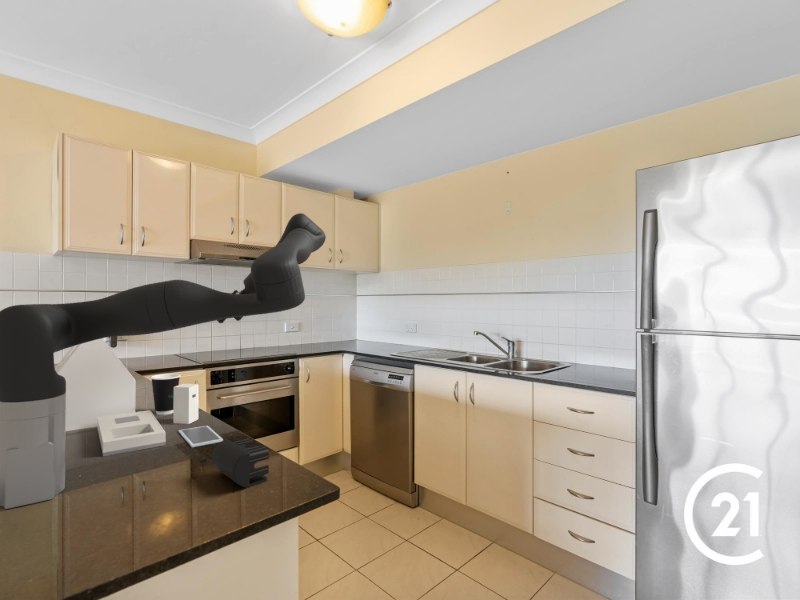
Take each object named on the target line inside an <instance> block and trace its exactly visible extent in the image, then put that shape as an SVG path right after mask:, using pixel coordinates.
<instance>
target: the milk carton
mask: <svg viewBox="0 0 800 600" xmlns="http://www.w3.org/2000/svg"><path fill="white" fill-rule="evenodd" d="M54 367H55V371H56V372H57V374H58V375H61V376H63V377H64V378H65V380H66V432H69V431H77V430H83V429H84V430H85V429H91V428H97V417H103V416H110V415H118V414H125V413H133V412H136V394H137V393H136V391H137V389H136V387H137V385H136V384H137V382H136V378H135V377H134V376H133V375H132V374H131V372H130V371H129V370H128V368H127V367H126V366H125V365H124V363H123V362H122V361H121V360H120V358H119V357H118V356H117V355H116V354H115V352H114V350H112V349H111V347H110V346H109V344H108V343H107V342H106V341H105V340H104V338H101V339H97V340H93V341H90V342H86V343H82V344H79V345H76V346H72V347H70V348H69V350H68V351H67V352H66V353H65V355H64V356H63V358H62V359H61V360H60V361H59V362H58V363H57V365H56V366H54Z"/></svg>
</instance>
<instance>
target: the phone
mask: <svg viewBox="0 0 800 600" xmlns="http://www.w3.org/2000/svg"><path fill="white" fill-rule="evenodd" d="M178 433H179V434H180V435H181V436H182V438H183V439H184V440H185V441H186V443H187V444H188V445H189V446H190V447H191V448H195V447H201V446H205V445H210V444H216V443H220V442H222V441H224V439H223V437H221V436H220V435H219V434H218V433H217V432H215V430H213V428H211V427H210V426H209V425H202V426H198V427H197V426H195V427H189V428H183V429H179V430H178Z"/></svg>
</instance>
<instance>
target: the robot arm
mask: <svg viewBox="0 0 800 600" xmlns="http://www.w3.org/2000/svg"><path fill="white" fill-rule="evenodd" d="M326 238H327V237H326V233H325V231H324V230H323V228H321V227H320V226H318V225H317V224H316V223H315V222H314V221H313V220H312V219H311V218H309V216H307V215H306V214H304V213H302V212H298V213H296V214H294V215H292V216H291V217H290V219H289V220H288V222H287V224H286V227H285V228H284V231H283V233H282V235H281V236H280V239H279V240H278V241H277V244H276V245H275V246H273V247H271V248H269V249H268V250H267V251H265V252H263V253H262V254H260V255H259V256H258V257H257V258H255V259H254V260H253V262H252V264H251V266H250V272H249V274H248V275H247V276H246V277H245V278H244V279H243V285H244V288H243V289H242V290H240V291H238V290H237V289H236V290H235V289H234V291H233V292H231V293H229V292H223V291H220V290H217V289H214V288H212V287H211V288H210V287H208V286H205V285H202V284H200V283H196V282H192V281H188V280H184V279H172V280H171V279H170V280H165V281H158V282H155V283H154V282H153V283H147V284H143V285H138V286H135V287H131V288H128V289H126V290H123V291H120V292H117V293H114V294H111V295H109V296H107V297H103V298H99V299H94V300H87V301H79V302H78V301H77V302H67V303H34V304H33V303H32V304H29V303H28V304H27V303H26V304H17V305H16V304H15V305H11V306H8V307H7V306H6V307H5V308H3V309H2V310H0V507H3V509H4V510H8V509H13V508H17V507H21V506H26V505H31V504H35V503H40V502H43V501H49V500H53V499H54V498H55V496H57V495H58V494H60V493H61V492H63V491H64V490H65V488H66V432H67V431H66V380H65V378H64V377H63V376H61V375H58V374H57V372H56V371H55V367H56V366H55V357H54V356H55V353H57V352H60V351H63V350H66V349H68V348H69V349H70V348H71V347H72V346H76V345H79V344H82V343H86V342H90V341H93V340H97V339H101V338H102V339H105V338H112V337H128V336H130V337H131V336H133V337H134V336H142V335H143V336H145V335H151V334H157V333H158V334H159V333H163V332H164V333H165V332H169V331H173V330H178V329H183V328H187V327H191V326H195V325H202V324H205V323H206V324H207V323H211V322H215V321H217V323H219V324H224V322H225V321H226V320H227V319H232V318H234V319H235V321H237V322H239V321H241V320H242V319H243V318H244V317H248V316H249V317H250V316H256V315H258V316H259V315H266V314H273V313H275V314H276V313H280V312H285V311H289V310H292V309H294V308H297V307H299V306H301V305H302V304H303V303H304V301H305V300H306V293H305V287H304V282H303V279H302V278H303V277H302V274H301V273H302V272H301V269H300V266H299V265H302V264H303V263H305V262H306V261H308V260H309V258H310V256H311V255H312V253H314V252H317V251H318V250H320V249H321V247H323V245H324V244H325V242H326Z"/></svg>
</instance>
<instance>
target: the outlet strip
mask: <svg viewBox="0 0 800 600" xmlns="http://www.w3.org/2000/svg"><path fill="white" fill-rule="evenodd" d="M96 430H97V434H98V439H99V445H100V449H101V453H102V457H108V456H113V455H118V454H124V453H130V452H136V451H139V450H140V451H141V450H145V449H151V448H157V447H162V446H163V447H164V446H166V444H167V443H166V442H167V441H166V438H167V437H166V435H167V433H166V431H165V429H164V428H163V427H162V425H161V424H160V421H158V419H157V418H156V417H155V415H154V413H153V412H152V411H151V410H143V411H135V412H133V413H125V414H118V415H110V416H103V417H97V427H96Z"/></svg>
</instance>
